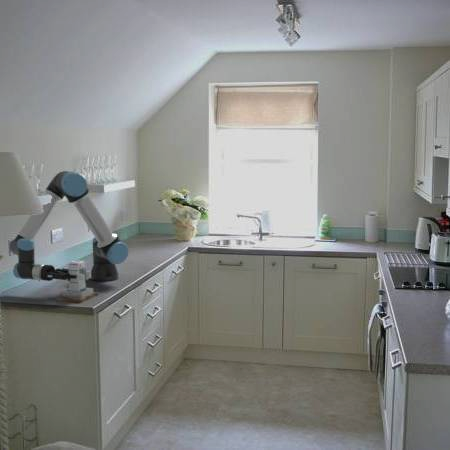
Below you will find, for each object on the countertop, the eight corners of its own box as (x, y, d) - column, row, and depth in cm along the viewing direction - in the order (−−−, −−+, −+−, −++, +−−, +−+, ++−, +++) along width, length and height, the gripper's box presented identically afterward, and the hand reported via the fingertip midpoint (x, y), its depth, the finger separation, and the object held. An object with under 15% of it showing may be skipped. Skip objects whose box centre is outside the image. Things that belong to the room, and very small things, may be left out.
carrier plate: (75, 293, 310) (75, 290, 310) (97, 295, 306) (97, 292, 306) (57, 300, 295) (57, 297, 295) (80, 302, 291) (80, 299, 291)
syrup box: (79, 293, 296) (78, 262, 295) (68, 292, 299) (68, 262, 297) (86, 291, 302) (85, 260, 300) (75, 290, 304) (75, 260, 302)
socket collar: (74, 291, 307) (73, 286, 307) (93, 293, 304) (93, 288, 303) (62, 296, 297) (62, 291, 297) (81, 298, 294) (81, 292, 294)
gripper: (55, 276, 314) (97, 279, 307) (32, 284, 296) (76, 287, 289) (55, 261, 313) (97, 264, 306) (32, 268, 295) (76, 271, 288)
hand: (87, 275), depth 298 cm, fingers closed on syrup box, 6 cm apart
